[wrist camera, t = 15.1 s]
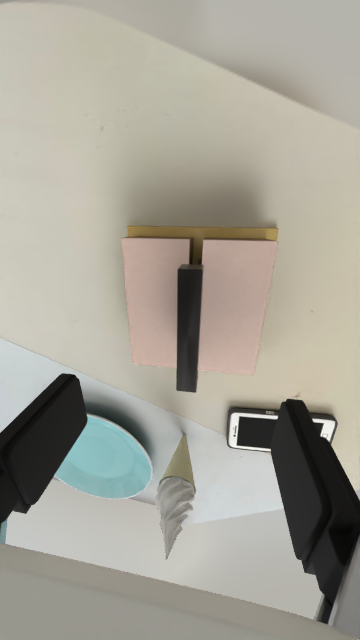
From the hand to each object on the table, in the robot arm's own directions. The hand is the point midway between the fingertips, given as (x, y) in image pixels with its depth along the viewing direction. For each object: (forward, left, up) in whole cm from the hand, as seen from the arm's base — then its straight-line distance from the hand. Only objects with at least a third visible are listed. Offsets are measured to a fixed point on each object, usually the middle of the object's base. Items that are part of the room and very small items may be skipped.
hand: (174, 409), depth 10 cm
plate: (+30, -17, -18) cm, 39 cm away
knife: (+1, 0, -18) cm, 18 cm away
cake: (0, 0, -18) cm, 18 cm away
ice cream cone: (+24, -1, -18) cm, 31 cm away
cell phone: (+20, +13, -18) cm, 30 cm away
